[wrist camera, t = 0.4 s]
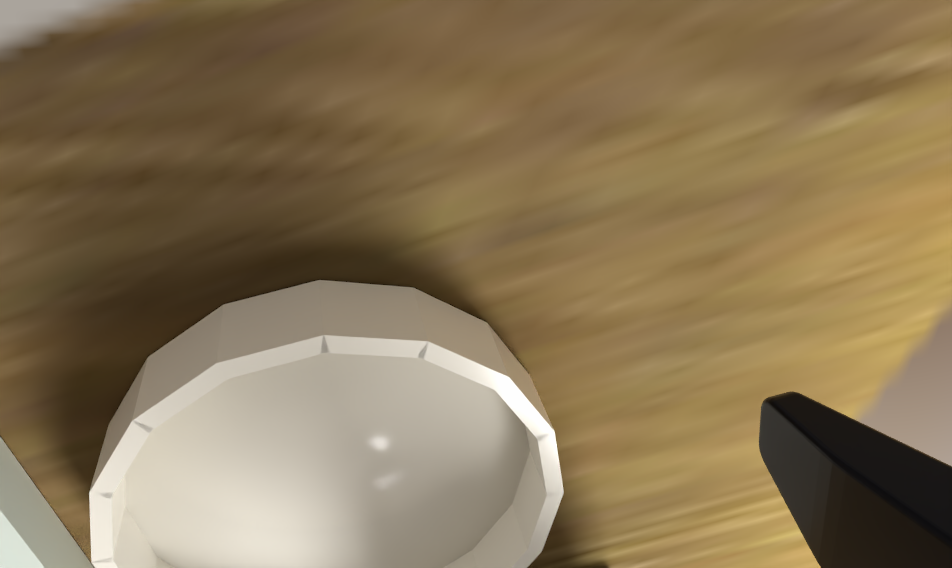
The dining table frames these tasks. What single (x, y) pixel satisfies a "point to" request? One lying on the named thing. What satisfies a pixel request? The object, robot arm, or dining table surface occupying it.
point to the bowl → (328, 441)
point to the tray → (31, 524)
